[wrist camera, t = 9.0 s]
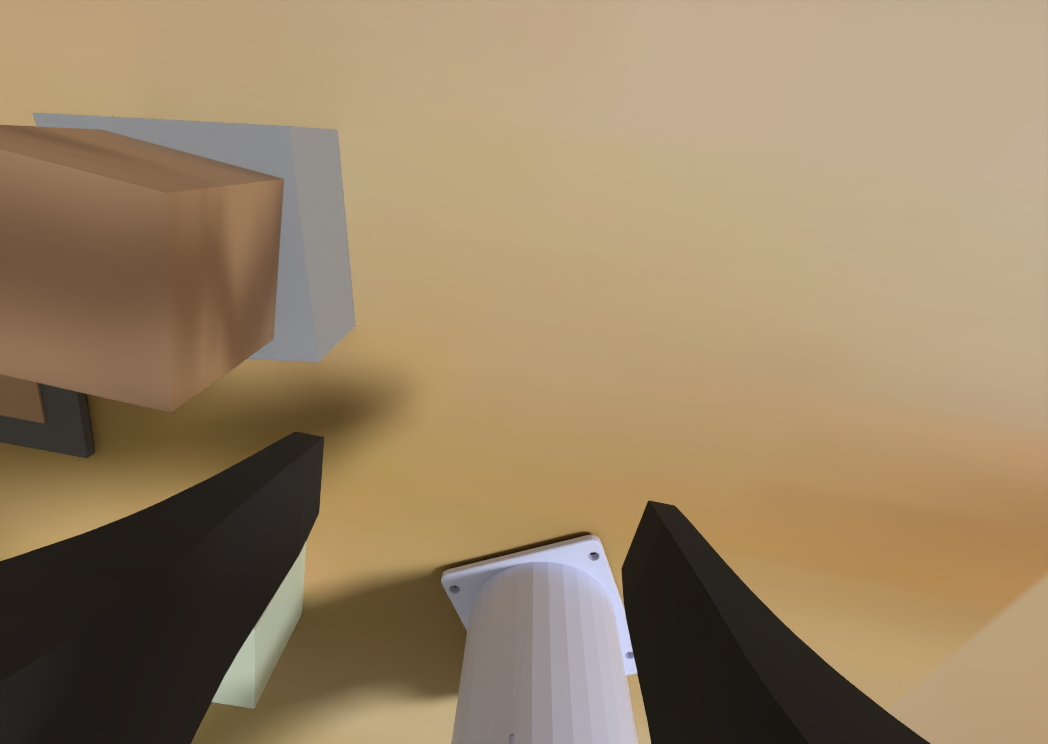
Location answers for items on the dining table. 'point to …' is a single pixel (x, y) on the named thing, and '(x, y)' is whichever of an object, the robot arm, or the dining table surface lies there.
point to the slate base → (306, 225)
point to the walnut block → (131, 264)
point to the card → (44, 417)
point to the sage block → (265, 643)
